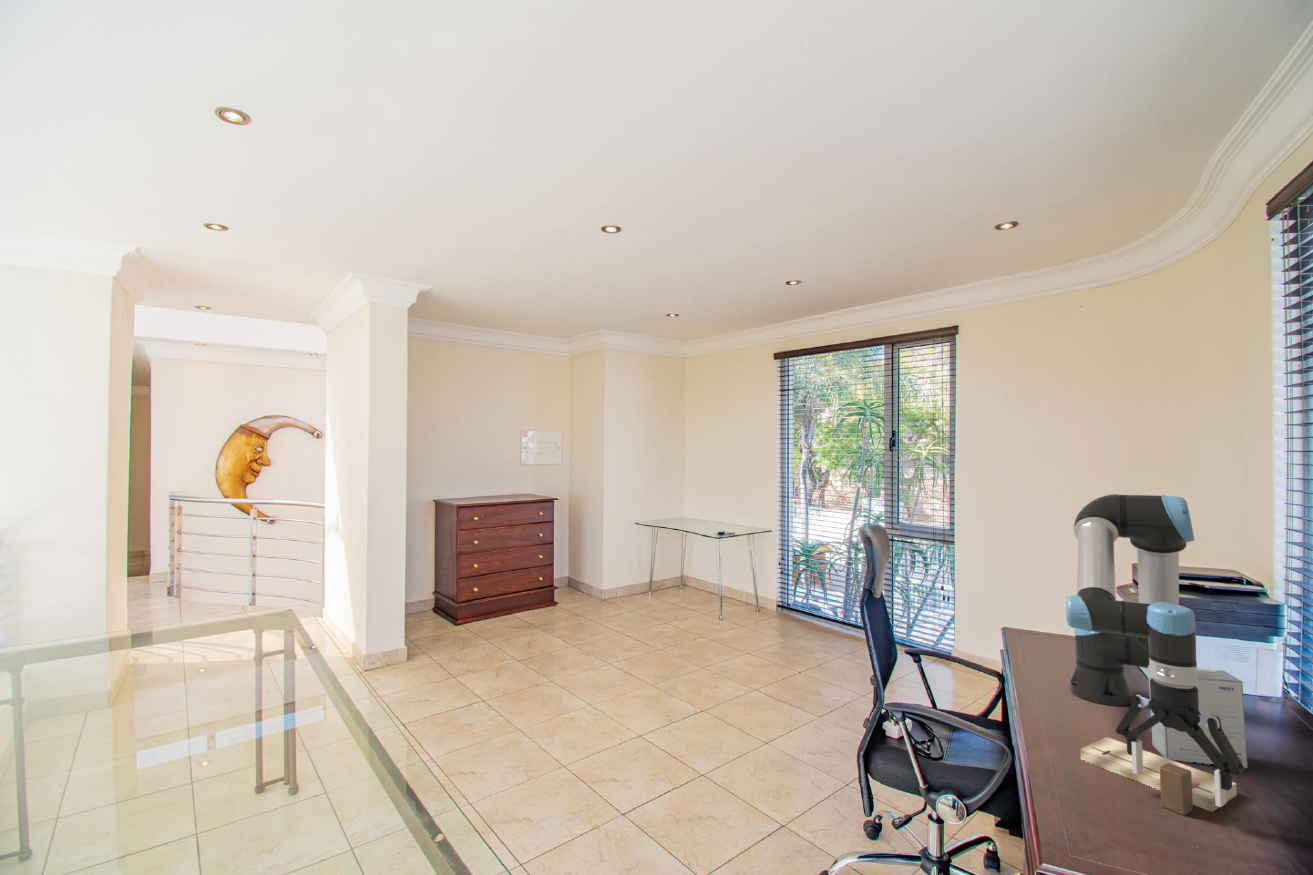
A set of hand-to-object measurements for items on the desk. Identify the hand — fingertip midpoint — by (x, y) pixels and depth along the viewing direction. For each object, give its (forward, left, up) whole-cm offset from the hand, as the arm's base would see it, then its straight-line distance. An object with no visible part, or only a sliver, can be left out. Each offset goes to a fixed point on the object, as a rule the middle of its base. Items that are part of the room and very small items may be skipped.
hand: (1177, 787), depth 122 cm
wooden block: (0, -1, -4) cm, 4 cm away
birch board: (-8, +10, -4) cm, 13 cm away
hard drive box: (-7, +29, -4) cm, 30 cm away
